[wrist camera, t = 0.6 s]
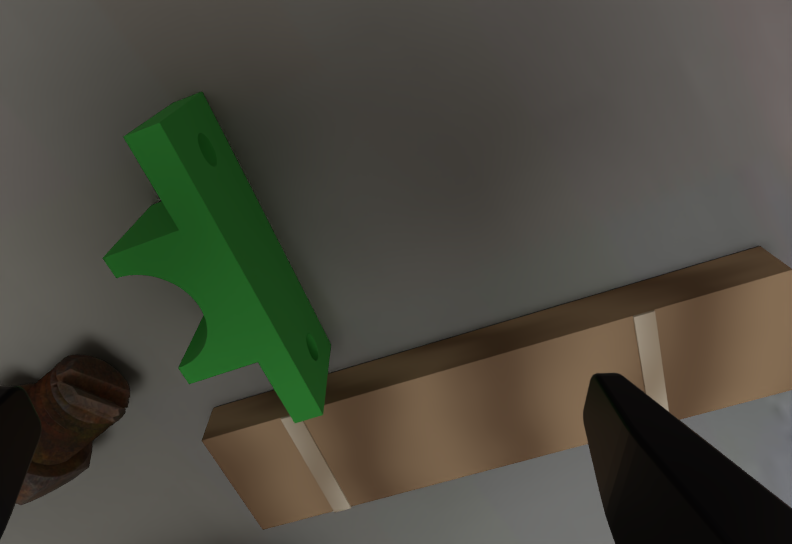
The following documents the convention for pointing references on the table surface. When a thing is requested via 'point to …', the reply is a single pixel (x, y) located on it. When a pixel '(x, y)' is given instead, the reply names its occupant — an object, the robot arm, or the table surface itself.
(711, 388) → the brown wooden plank
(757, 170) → the table surface
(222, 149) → the pipe clamp
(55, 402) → the bolt
